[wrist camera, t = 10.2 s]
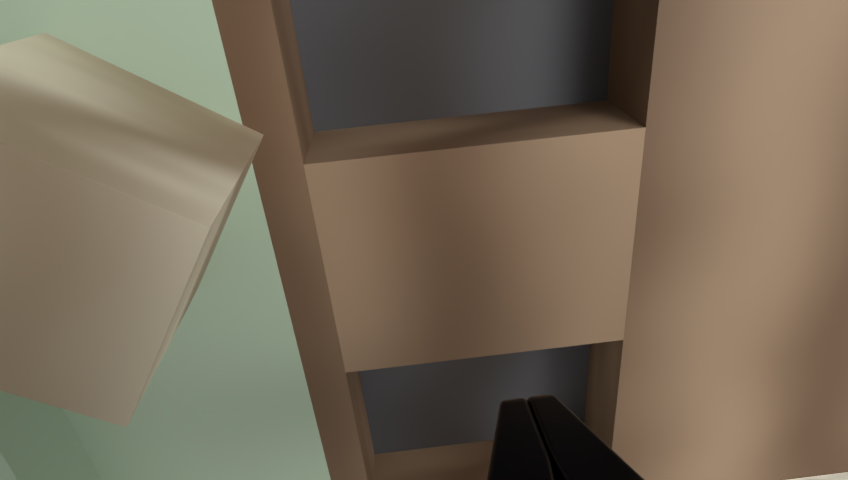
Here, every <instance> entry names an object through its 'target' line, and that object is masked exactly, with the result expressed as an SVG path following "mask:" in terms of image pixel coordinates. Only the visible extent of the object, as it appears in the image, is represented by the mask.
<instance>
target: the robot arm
mask: <svg viewBox="0 0 848 480" xmlns="http://www.w3.org/2000/svg"><path fill="white" fill-rule="evenodd" d="M487 480H644V479H643V478H642V477H641V476H640V475H639V474H638V473H637V472H636V471H635V470H634V469H633V468H632V467H630V466H629V465H628V464H627V463H626V462H625V461H624V460H623V459H622V458H621V457H620V456H619V455H618V454H617V453H616V452H614V451H613V450H612V449H611V448H610V447H609V446H608V445H607V444H606V443H605V442H604V441H603V440H602V439H601V438H599V437H598V436H597V435H596V434H595V433H594V432H593V431H592V430H591V429H590V428H589V427H588V426H587V425H586V424H585V423H583V422H582V421H581V420H580V419H579V418H578V417H577V416H576V415H575V414H574V413H573V412H572V411H571V410H570V409H569V408H567V407H566V406H565V405H564V404H563V403H562V402H561V401H560V400H559V399H558V398H557V397H556V396H554V395H552V394H546V395H539V396H531V397H529V398H528V399H527V400H526V399H525V398H517V399H509V400H503V401H502V402H501V403H500V406H499V412H498V418H497V424H496V430H495V435H494V441H493V447H492V453H491V459H490V464H489V470H488V476H487Z"/></svg>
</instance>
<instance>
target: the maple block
mask: <svg viewBox="0 0 848 480" xmlns="http://www.w3.org/2000/svg"><path fill="white" fill-rule="evenodd" d="M262 138H263V134H261V133H259V132H257V131H255V130H253V129H250V128H248V127H246V126H244V125H242V124H240V123H238V122H235V121H233V120H231V119H229V118H227V117H225V116H223V115H220V114H218V113H216V112H214V111H212V110H210V109H208V108H205V107H203V106H201V105H199V104H197V103H195V102H193V101H190V100H188V99H186V98H184V97H182V96H180V95H178V94H175V93H173V92H171V91H169V90H167V89H165V88H163V87H160V86H158V85H156V84H154V83H152V82H150V81H148V80H145V79H143V78H141V77H139V76H137V75H135V74H133V73H130V72H128V71H126V70H124V69H122V68H120V67H118V66H115V65H113V64H111V63H109V62H107V61H105V60H103V59H100V58H98V57H96V56H94V55H92V54H90V53H88V52H85V51H83V50H81V49H79V48H77V47H75V46H73V45H70V44H68V43H66V42H64V41H62V40H60V39H58V38H55V37H53V36H51V35H49V34H47V33H41V34H38V35H34V36H31V37H27V38H24V39H20V40H16V41H13V42H9V43H6V44H2V45H0V391H3V392H6V393H10V394H13V395H17V396H20V397H24V398H27V399H31V400H34V401H37V402H41V403H44V404H48V405H51V406H55V407H58V408H62V409H65V410H69V411H72V412H75V413H79V414H82V415H86V416H89V417H93V418H96V419H100V420H103V421H107V422H110V423H113V424H117V425H120V426H124V427H127V426H128V424H129V422H130V420H131V418H132V416H133V414H134V412H135V410H136V408H137V406H138V404H139V402H140V400H141V398H142V397H143V395H144V393H145V391H146V389H147V387H148V385H149V383H150V381H151V379H152V377H153V375H154V373H155V371H156V369H157V367H158V365H159V363H160V361H161V359H162V357H163V356H164V354H165V352H166V350H167V348H168V346H169V344H170V342H171V340H172V338H173V336H174V334H175V332H176V330H177V328H178V326H179V324H180V322H181V320H182V318H183V317H184V315H185V313H186V311H187V309H188V307H189V305H190V303H191V301H192V299H193V297H194V295H195V293H196V291H197V289H198V287H199V284H200V282H201V280H202V277H203V275H204V273H205V270H206V268H207V266H208V263H209V261H210V259H211V256H212V254H213V252H214V249H215V247H216V245H217V242H218V240H219V238H220V235H221V233H222V231H223V228H224V226H225V224H226V221H227V219H228V217H229V215H230V212H231V210H232V208H233V205H234V203H235V201H236V198H237V196H238V194H239V191H240V189H241V187H242V184H243V182H244V180H245V177H246V175H247V173H248V170H249V168H250V166H251V163H252V161H253V159H254V156H255V154H256V152H257V149H258V147H259V145H260V142H261V140H262Z"/></svg>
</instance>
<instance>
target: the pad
mask: <svg viewBox="0 0 848 480" xmlns="http://www.w3.org/2000/svg"><path fill="white" fill-rule="evenodd" d="M41 33H47V34H49V35H51V36H53V37H55V38H58V39H60V40H62V41H64V42H66V43H68V44H70V45H73V46H75V47H77V48H79V49H81V50H83V51H85V52H88V53H90V54H92V55H94V56H96V57H98V58H100V59H103V60H105V61H107V62H109V63H111V64H113V65H115V66H118V67H120V68H122V69H124V70H126V71H128V72H130V73H133V74H135V75H137V76H139V77H141V78H143V79H145V80H148V81H150V82H152V83H154V84H156V85H158V86H160V87H163V88H165V89H167V90H169V91H171V92H173V93H175V94H178V95H180V96H182V97H184V98H186V99H188V100H190V101H193V102H195V103H197V104H199V105H201V106H203V107H205V108H208V109H210V110H212V111H214V112H216V113H218V114H220V115H223V116H225V117H227V118H229V119H231V120H233V121H235V122H238V123H240V124H242V120H241V116H240V112H239V108H238V104H237V100H236V96H235V92H234V88H233V84H232V80H231V76H230V72H229V68H228V64H227V60H226V56H225V52H224V48H223V44H222V40H221V36H220V32H219V28H218V24H217V20H216V16H215V12H214V8H213V4H212V0H0V45H2V44H6V43H9V42H13V41H16V40H20V39H24V38H27V37H31V36H34V35H38V34H41ZM242 125H243V124H242ZM0 480H331V479H330V475H329V470H328V466H327V462H326V458H325V454H324V450H323V446H322V442H321V438H320V434H319V430H318V426H317V422H316V418H315V414H314V410H313V406H312V402H311V398H310V394H309V390H308V386H307V382H306V378H305V374H304V370H303V366H302V362H301V358H300V354H299V350H298V346H297V342H296V338H295V334H294V330H293V326H292V322H291V318H290V314H289V310H288V306H287V302H286V297H285V293H284V289H283V285H282V281H281V277H280V273H279V269H278V265H277V261H276V257H275V253H274V249H273V245H272V241H271V237H270V233H269V229H268V225H267V221H266V217H265V213H264V209H263V205H262V201H261V197H260V193H259V189H258V185H257V181H256V177H255V173H254V169H253V165H252V163H251V166H250V168H249V170H248V173H247V175H246V177H245V180H244V182H243V184H242V187H241V189H240V191H239V194H238V196H237V198H236V201H235V203H234V205H233V208H232V210H231V212H230V215H229V217H228V219H227V221H226V224H225V226H224V228H223V231H222V233H221V235H220V238H219V240H218V242H217V245H216V247H215V249H214V252H213V254H212V256H211V259H210V261H209V263H208V266H207V268H206V270H205V273H204V275H203V277H202V280H201V282H200V284H199V287H198V289H197V291H196V293H195V295H194V297H193V299H192V301H191V303H190V305H189V307H188V309H187V311H186V313H185V315H184V317H183V318H182V320H181V322H180V324H179V326H178V328H177V330H176V332H175V334H174V336H173V338H172V340H171V342H170V344H169V346H168V348H167V350H166V352H165V354H164V356H163V357H162V359H161V361H160V363H159V365H158V367H157V369H156V371H155V373H154V375H153V377H152V379H151V381H150V383H149V385H148V387H147V389H146V391H145V393H144V395H143V397H142V398H141V400H140V402H139V404H138V406H137V408H136V410H135V412H134V414H133V416H132V418H131V420H130V422H129V424H128V426H127V427H124V426H120V425H117V424H113V423H110V422H107V421H103V420H100V419H96V418H93V417H89V416H86V415H82V414H79V413H75V412H72V411H69V410H65V409H62V408H58V407H55V406H51V405H48V404H44V403H41V402H37V401H34V400H31V399H27V398H24V397H20V396H17V395H13V394H10V393H6V392H3V391H0Z"/></svg>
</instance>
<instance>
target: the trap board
mask: <svg viewBox="0 0 848 480" xmlns="http://www.w3.org/2000/svg"><path fill="white" fill-rule="evenodd" d="M212 4H213V8H214V12H215V16H216V20H217V24H218V28H219V32H220V36H221V40H222V44H223V48H224V52H225V56H226V60H227V64H228V68H229V72H230V76H231V80H232V84H233V88H234V92H235V96H236V100H237V104H238V108H239V112H240V116H241V120H242V124H243V125H244V126H246V127H248V128H250V129H253V130H255V131H257V132H259V133H261V134H263V138H262V140H261V142H260V145H259V147H258V149H257V152H256V154H255V156H254V159H253V161H252V165H253V169H254V173H255V177H256V181H257V185H258V189H259V193H260V197H261V201H262V205H263V209H264V213H265V217H266V221H267V225H268V229H269V233H270V237H271V241H272V245H273V249H274V253H275V257H276V261H277V265H278V269H279V273H280V277H281V281H282V285H283V289H284V293H285V297H286V302H287V306H288V310H289V314H290V318H291V322H292V326H293V330H294V334H295V338H296V342H297V346H298V350H299V354H300V358H301V362H302V366H303V370H304V374H305V378H306V382H307V386H308V390H309V394H310V398H311V402H312V406H313V410H314V414H315V418H316V422H317V426H318V430H319V434H320V438H321V442H322V446H323V450H324V454H325V458H326V462H327V466H328V470H329V475H330V479H331V480H487V476H488V470H489V464H490V459H491V453H492V447H493V441H494V435H495V430H496V424H497V418H498V412H499V406H500V403H501V402H502V401H503V400H509V399H517V398H525V399H526V400H527V399H528V398H529V397H531V396H539V395H546V394H552V395H554V396H556V397H557V398H558V399H559V400H560V401H561V402H562V403H563V404H564V405H565V406H566V407H567V408H569V409H570V410H571V411H572V412H573V413H574V414H575V415H576V416H577V417H578V418H579V419H580V420H581V421H582V422H583V423H585V424H586V425H587V426H588V427H589V428H590V429H591V430H592V431H593V432H594V433H595V434H596V435H597V436H598V437H599V438H601V439H602V440H603V441H604V442H605V443H606V444H607V445H608V446H609V447H610V448H611V449H612V450H613V451H614V452H616V453H617V454H618V455H619V456H620V457H621V458H622V459H623V460H624V461H625V462H626V463H627V464H628V465H629V466H630V467H632V468H633V469H634V470H635V471H636V472H637V473H638V474H639V475H640V476H641V477H642V478H643V479H644V480H786V479H794V478H802V477H810V476H818V475H826V474H834V473H842V472H848V0H212Z"/></svg>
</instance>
